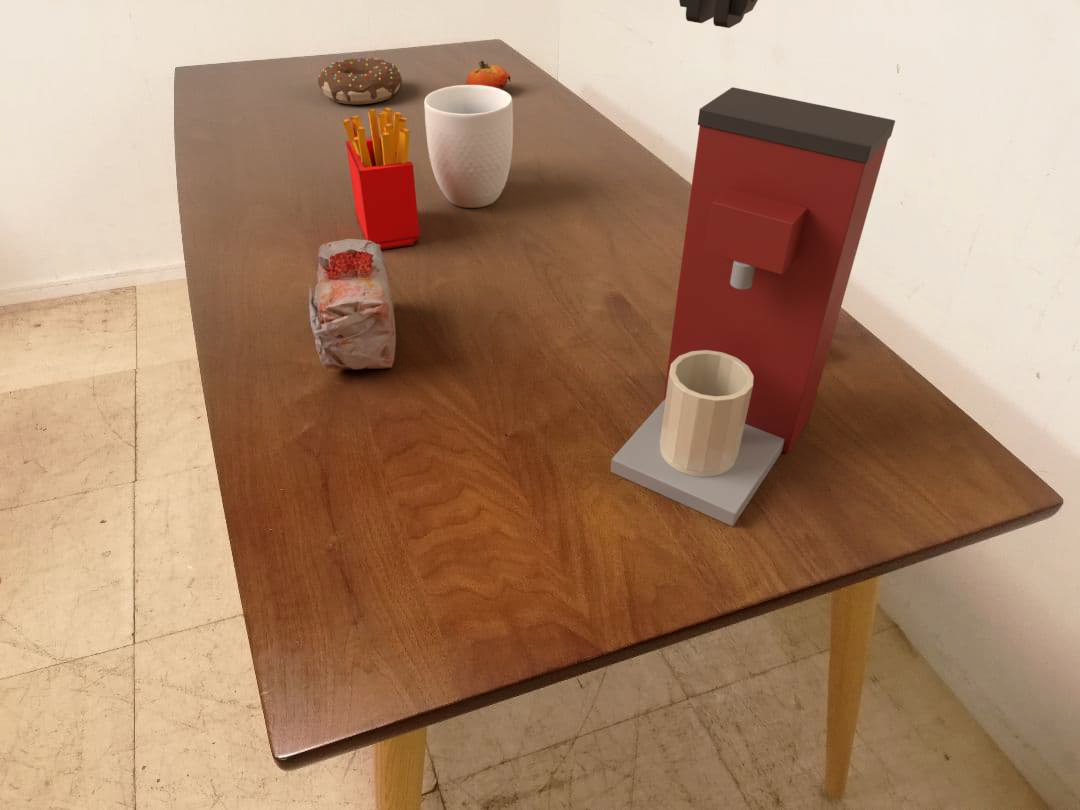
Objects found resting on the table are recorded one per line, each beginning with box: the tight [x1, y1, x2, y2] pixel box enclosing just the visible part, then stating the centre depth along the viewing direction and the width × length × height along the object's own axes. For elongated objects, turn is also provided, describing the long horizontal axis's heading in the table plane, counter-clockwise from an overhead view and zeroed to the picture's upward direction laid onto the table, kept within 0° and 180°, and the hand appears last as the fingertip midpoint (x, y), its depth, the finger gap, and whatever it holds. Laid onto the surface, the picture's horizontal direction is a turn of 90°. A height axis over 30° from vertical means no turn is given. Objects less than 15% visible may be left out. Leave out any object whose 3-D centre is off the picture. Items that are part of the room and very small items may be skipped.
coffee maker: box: [610, 86, 896, 527], centre depth 63 cm, size 16×12×27 cm
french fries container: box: [341, 107, 420, 251], centre depth 97 cm, size 7×9×14 cm
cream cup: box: [660, 350, 754, 477], centre depth 66 cm, size 6×6×8 cm
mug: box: [423, 84, 514, 209], centre depth 107 cm, size 15×11×13 cm
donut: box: [317, 57, 403, 105], centre depth 139 cm, size 14×14×5 cm
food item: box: [308, 238, 397, 371], centre depth 80 cm, size 14×8×10 cm, turn 13°
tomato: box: [464, 59, 512, 90], centre depth 141 cm, size 8×7×7 cm
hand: (714, 20), depth 40 cm, fingers closed
